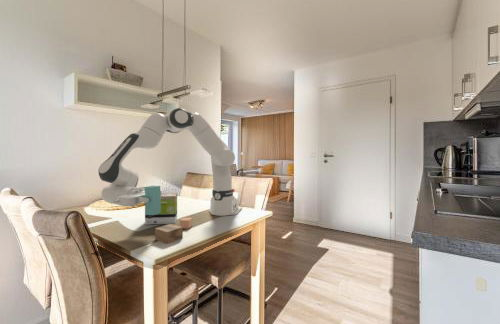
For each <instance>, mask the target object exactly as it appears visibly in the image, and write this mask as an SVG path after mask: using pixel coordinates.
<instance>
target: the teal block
mask: <svg viewBox="0 0 500 324" xmlns="http://www.w3.org/2000/svg"><path fill="white" fill-rule="evenodd" d="M144 187H145V198H150V199H151V201H150V202H144V215H145V214H147V215H156V214H159V213H161V195H160V191H161V186H160V185H149V186H144Z"/></svg>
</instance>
